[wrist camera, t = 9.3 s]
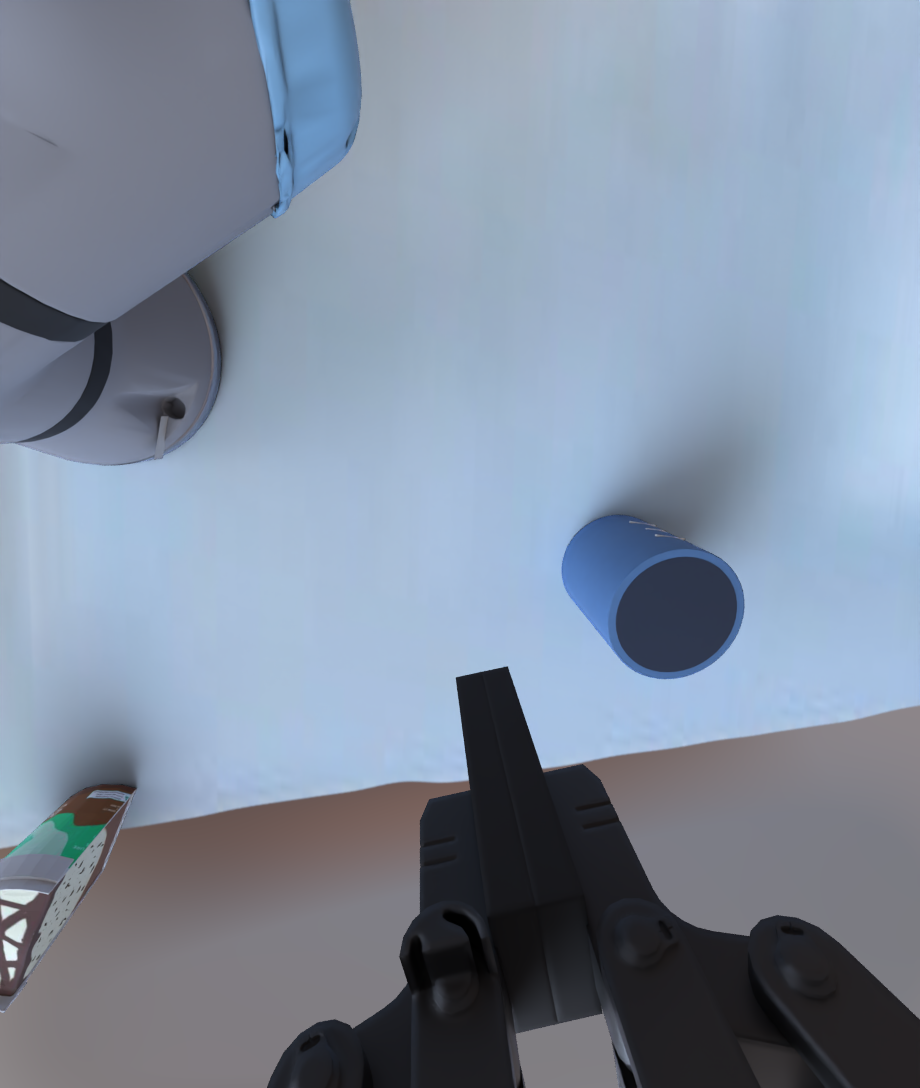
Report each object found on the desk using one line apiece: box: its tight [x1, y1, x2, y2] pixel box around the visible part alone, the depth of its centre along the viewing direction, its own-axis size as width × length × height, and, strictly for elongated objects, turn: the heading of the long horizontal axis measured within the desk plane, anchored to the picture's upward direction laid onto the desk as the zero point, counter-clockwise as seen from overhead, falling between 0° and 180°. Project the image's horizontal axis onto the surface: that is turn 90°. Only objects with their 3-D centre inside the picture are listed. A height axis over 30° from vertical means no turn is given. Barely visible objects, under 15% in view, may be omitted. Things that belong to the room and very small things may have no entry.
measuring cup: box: [562, 515, 744, 679], centre depth 33 cm, size 10×8×8 cm
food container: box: [0, 784, 137, 1012], centre depth 36 cm, size 12×6×10 cm, turn 154°
